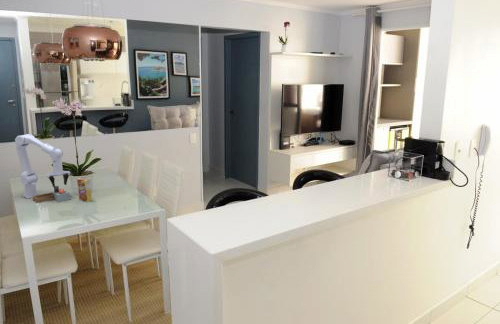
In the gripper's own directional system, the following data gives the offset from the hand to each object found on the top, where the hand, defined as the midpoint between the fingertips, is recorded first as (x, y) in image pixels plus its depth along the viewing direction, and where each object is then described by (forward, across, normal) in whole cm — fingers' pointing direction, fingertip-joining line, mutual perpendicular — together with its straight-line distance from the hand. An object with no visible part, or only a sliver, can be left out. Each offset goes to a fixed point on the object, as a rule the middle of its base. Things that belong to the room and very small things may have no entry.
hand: (59, 185), depth 271 cm
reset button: (+6, 0, -3) cm, 7 cm away
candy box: (+10, +11, -14) cm, 21 cm away
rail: (+10, -5, +6) cm, 12 cm away
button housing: (+10, 0, -3) cm, 10 cm away
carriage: (+8, 0, +6) cm, 10 cm away
